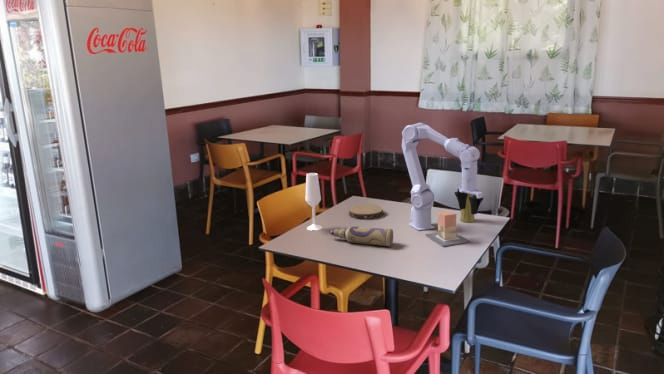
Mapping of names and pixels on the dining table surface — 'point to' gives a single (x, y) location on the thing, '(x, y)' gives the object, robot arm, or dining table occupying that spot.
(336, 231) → the decorative bottle
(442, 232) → the beech block
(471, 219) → the vase
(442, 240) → the baseplate
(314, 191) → the champagne flute
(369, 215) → the wood slice
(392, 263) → the dining table surface
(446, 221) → the terracotta block
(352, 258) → the dining table surface
